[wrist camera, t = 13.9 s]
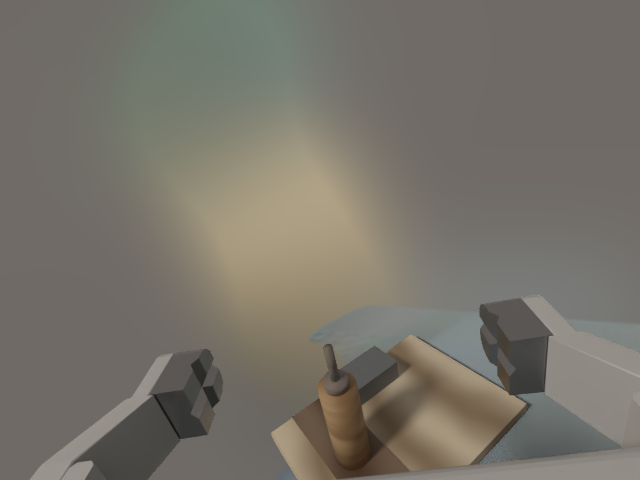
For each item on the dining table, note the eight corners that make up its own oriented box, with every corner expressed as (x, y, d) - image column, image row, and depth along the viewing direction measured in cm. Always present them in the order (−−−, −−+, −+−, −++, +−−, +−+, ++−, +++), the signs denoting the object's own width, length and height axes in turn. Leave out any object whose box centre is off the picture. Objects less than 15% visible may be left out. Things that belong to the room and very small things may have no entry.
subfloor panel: (412, 340, 43) (411, 333, 42) (526, 411, 32) (526, 402, 31) (273, 439, 34) (270, 432, 34) (362, 587, 23) (360, 579, 22)
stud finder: (377, 360, 40) (374, 343, 39) (399, 377, 37) (396, 359, 36) (336, 389, 37) (332, 372, 36) (356, 409, 34) (352, 391, 33)
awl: (355, 428, 32) (332, 327, 27) (378, 453, 30) (357, 346, 25) (328, 450, 31) (299, 347, 26) (350, 478, 28) (322, 370, 23)
